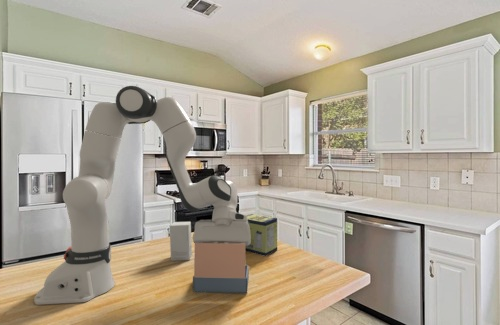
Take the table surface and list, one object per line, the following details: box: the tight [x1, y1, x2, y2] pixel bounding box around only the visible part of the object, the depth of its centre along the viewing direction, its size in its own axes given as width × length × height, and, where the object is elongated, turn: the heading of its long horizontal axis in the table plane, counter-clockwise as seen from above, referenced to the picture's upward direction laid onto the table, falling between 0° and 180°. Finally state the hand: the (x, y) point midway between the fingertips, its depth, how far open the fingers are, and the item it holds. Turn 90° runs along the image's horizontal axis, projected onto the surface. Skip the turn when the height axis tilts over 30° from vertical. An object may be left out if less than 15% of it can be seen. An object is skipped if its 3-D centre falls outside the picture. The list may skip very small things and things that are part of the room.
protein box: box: [245, 213, 278, 257], centre depth 133 cm, size 10×16×16 cm
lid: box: [193, 243, 246, 278], centre depth 91 cm, size 17×11×1 cm
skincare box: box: [169, 221, 193, 262], centre depth 122 cm, size 8×7×16 cm
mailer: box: [192, 264, 250, 294], centre depth 97 cm, size 18×11×5 cm, turn 88°
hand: (220, 256), depth 92 cm, fingers closed
